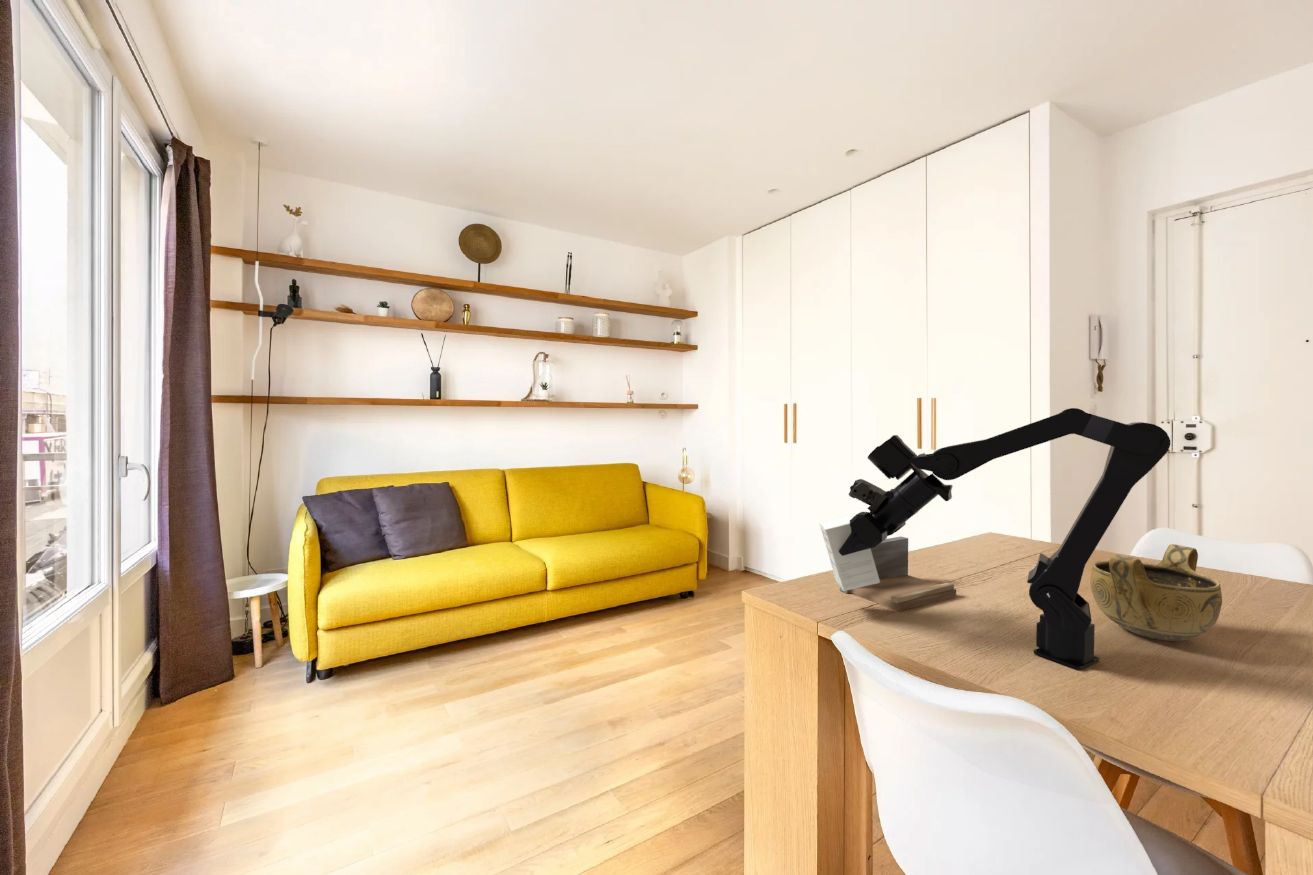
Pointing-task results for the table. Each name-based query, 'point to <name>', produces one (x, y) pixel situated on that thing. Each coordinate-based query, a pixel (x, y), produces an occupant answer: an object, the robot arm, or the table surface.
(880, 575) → the ledge
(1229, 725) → the table surface
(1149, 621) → the ceramic bowl
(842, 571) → the supplement box
